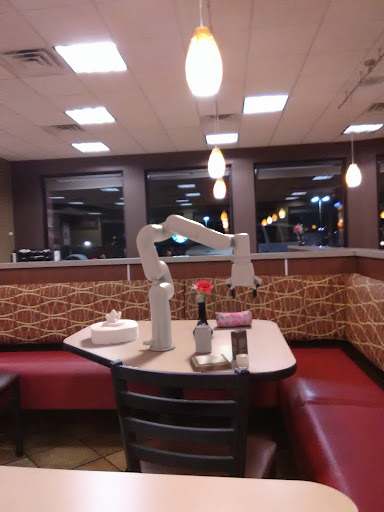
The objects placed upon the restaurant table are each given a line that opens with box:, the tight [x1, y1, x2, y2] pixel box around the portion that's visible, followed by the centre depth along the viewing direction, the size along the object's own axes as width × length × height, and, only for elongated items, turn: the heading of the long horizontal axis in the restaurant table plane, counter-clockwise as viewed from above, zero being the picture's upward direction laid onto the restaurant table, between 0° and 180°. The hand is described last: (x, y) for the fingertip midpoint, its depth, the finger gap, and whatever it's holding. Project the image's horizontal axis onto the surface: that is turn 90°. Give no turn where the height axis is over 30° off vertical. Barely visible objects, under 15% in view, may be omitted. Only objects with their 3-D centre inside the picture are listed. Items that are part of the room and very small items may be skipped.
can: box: [194, 324, 213, 355], centre depth 183 cm, size 8×8×12 cm
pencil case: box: [215, 310, 253, 328], centre depth 234 cm, size 21×9×9 cm, turn 90°
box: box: [230, 328, 249, 361], centre depth 170 cm, size 6×4×12 cm
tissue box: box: [90, 309, 140, 345], centre depth 219 cm, size 25×25×16 cm
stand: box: [190, 353, 232, 373], centre depth 163 cm, size 14×14×2 cm
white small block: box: [235, 354, 250, 369], centre depth 159 cm, size 5×5×4 cm
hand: (244, 297), depth 183 cm, fingers open, 9 cm apart
